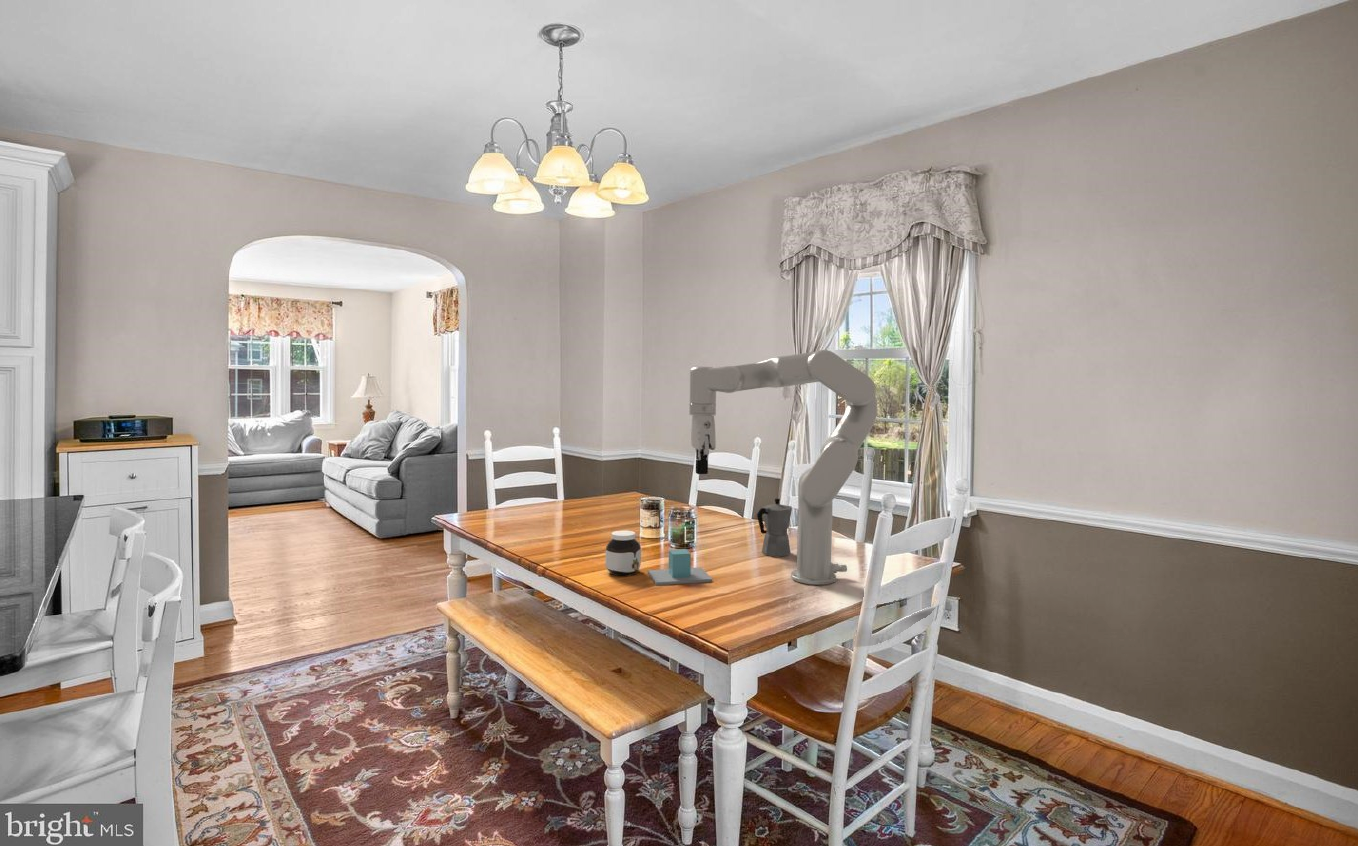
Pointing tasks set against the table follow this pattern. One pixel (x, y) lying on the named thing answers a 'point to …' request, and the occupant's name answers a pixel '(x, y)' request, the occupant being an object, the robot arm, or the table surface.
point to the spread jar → (623, 554)
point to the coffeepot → (775, 529)
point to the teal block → (679, 563)
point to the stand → (665, 578)
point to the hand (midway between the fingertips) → (701, 473)
